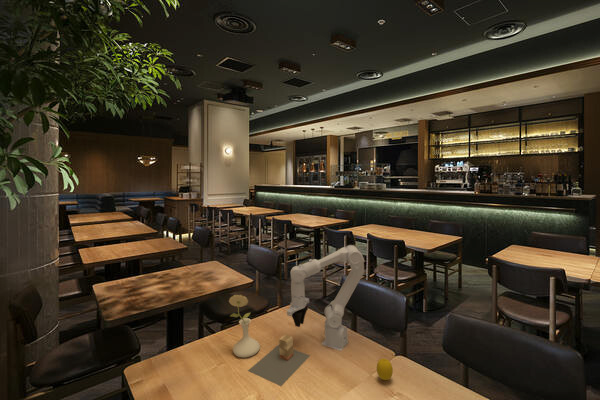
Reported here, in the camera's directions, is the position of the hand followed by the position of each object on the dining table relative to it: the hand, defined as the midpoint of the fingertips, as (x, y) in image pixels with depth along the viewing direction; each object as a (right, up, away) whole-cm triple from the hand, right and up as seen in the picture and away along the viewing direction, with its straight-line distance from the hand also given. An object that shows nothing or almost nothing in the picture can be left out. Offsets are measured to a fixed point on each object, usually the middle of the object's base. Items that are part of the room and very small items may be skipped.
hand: (299, 324), depth 127 cm
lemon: (+31, -11, -22) cm, 39 cm away
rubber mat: (-8, -11, -11) cm, 17 cm away
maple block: (-5, -10, -7) cm, 13 cm away
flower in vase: (-23, -11, -2) cm, 26 cm away
